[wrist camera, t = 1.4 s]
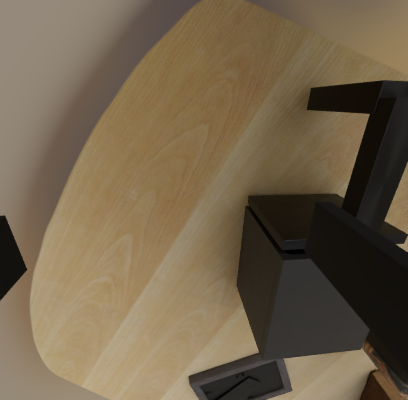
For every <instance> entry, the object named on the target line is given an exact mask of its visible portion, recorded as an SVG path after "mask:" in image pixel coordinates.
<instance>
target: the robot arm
mask: <svg viewBox="0 0 408 400" xmlns="http://www.w3.org/2000/svg"><path fill="white" fill-rule="evenodd" d="M304 252H305V253H306V254H307V255H308V257H309V258H310V259H311V260H312V261H313V263H314V264H315V265H316V266H317V267H318V269H319V270H320V271H321V272H322V273H323V275H324V276H325V277H326V278H327V279H328V281H329V282H330V283H331V284H332V285H333V286H334V288H335V289H336V290H337V291H338V292H339V294H340V295H341V296H342V297H343V298H344V300H345V301H346V302H347V303H348V304H349V306H350V307H351V308H352V309H353V310H354V312H355V313H356V314H357V315H358V316H359V317H360V319H361V320H362V321H363V322H364V323H365V325H366V326H367V327H368V328H369V329H370V331H371V332H372V333H373V334H374V335H375V337H376V338H377V339H378V340H379V341H380V343H381V344H382V345H383V346H384V347H385V349H386V350H387V351H388V352H389V353H390V354H391V356H392V357H393V358H394V359H395V360H396V362H397V363H398V364H399V365H400V366H401V368H402V369H403V370H404V371H405V372H406V374H407V375H408V252H406V251H405V250H403V249H402V248H400V247H399V246H397V245H396V244H394V243H393V242H391V241H390V240H388V239H387V238H385V237H384V236H382V235H381V234H379V233H378V232H376V231H375V230H373V229H372V228H370V227H369V226H367V225H366V224H364V223H363V222H361V221H359V220H358V219H356V218H355V217H353V216H352V215H350V214H349V213H347V212H346V211H344V210H343V209H341V208H340V207H338V206H337V205H335V204H334V203H332V202H315V207H314V211H313V215H312V219H311V224H310V228H309V232H308V236H307V241H306V245H305V249H304ZM26 271H27V268H26V266H25V263H24V261H23V258H22V256H21V253H20V251H19V248H18V246H17V244H16V241H15V239H14V236H13V234H12V231H11V229H10V226H9V224H8V221H7V219H6V217H5V216H0V300H1V299H2V298H3V297H4V296H5V295H6V293H7V292H8V291H9V290H10V289H11V288H12V286H13V285H14V284H15V283H16V282H17V281H18V280H19V279H20V277H21V276H22V275H23V274H24V273H25V272H26Z"/></svg>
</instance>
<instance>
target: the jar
mask: <svg viewBox="0 0 408 400" xmlns="http://www.w3.org/2000/svg"><path fill="white" fill-rule="evenodd" d="M362 349H363V350H364V351H365V353H366V354H367V355H368V356H369V358H370V359H371V360H372V362H373V363H374V364H375V366H376V367H377V368H378V369H379V371H380V372H381V373H382V375H383V376H384V377H385V378H386V380H387V381H388V382H389V383H390V385H391V386H392V387H393V388H394V389H395V391H396V392H397V393H398V394H399V395H400V396H401V397H403V398H404V399H407V400H408V375H407V374H406V372H405V371H404V370H403V369H402V368H401V366H400V365H399V364H398V363H397V362H396V360H395V359H394V358H393V357H392V356H391V354H390V353H389V352H388V351H387V350H386V349H385V347H384V346H383V345H382V344H381V343H380V341H379V340H378V339H377V338H376V337H375V335H374V334H373V333H372V332H371V331H369V333H368V335H367V337H366V339H365V341H364V343H363V345H362Z"/></svg>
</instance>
